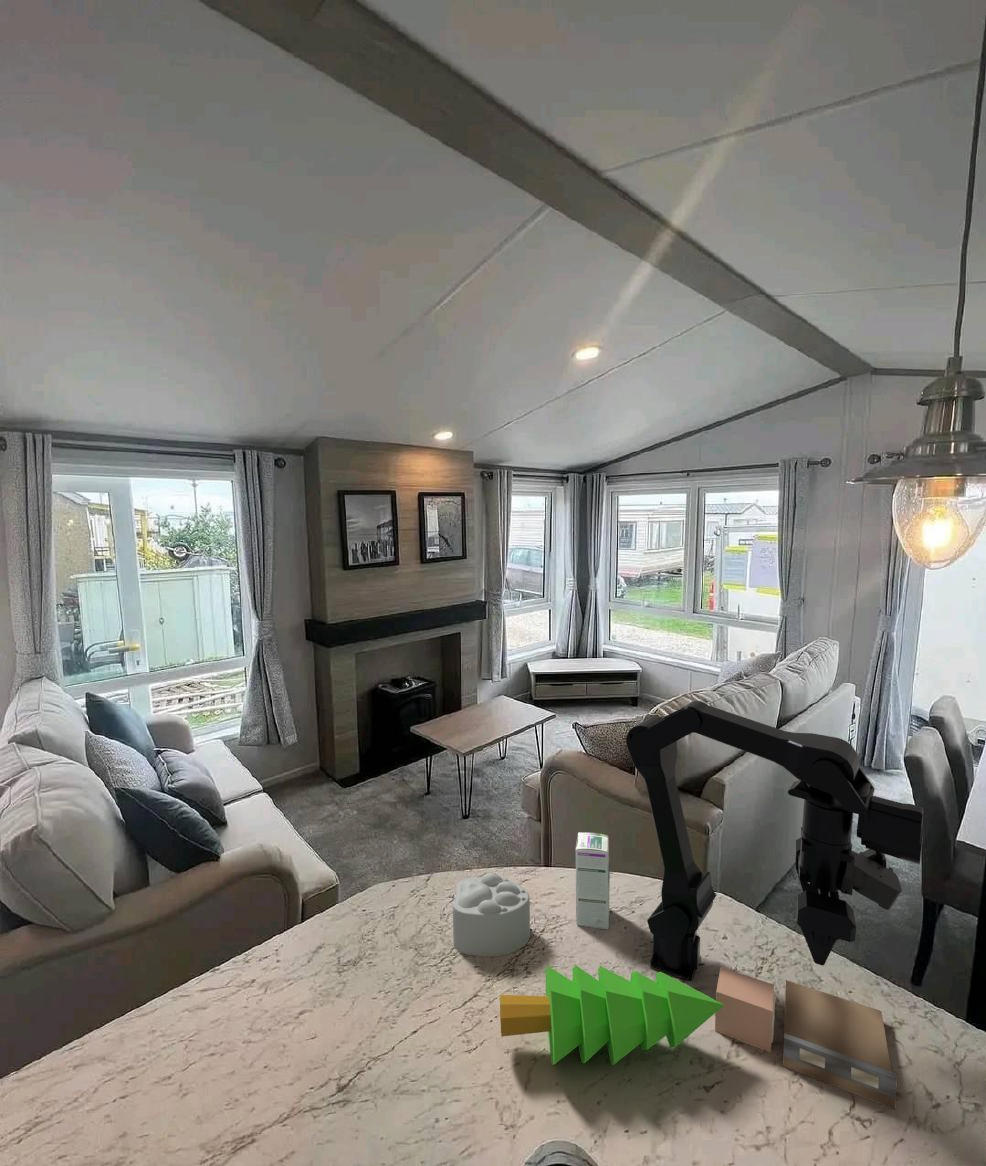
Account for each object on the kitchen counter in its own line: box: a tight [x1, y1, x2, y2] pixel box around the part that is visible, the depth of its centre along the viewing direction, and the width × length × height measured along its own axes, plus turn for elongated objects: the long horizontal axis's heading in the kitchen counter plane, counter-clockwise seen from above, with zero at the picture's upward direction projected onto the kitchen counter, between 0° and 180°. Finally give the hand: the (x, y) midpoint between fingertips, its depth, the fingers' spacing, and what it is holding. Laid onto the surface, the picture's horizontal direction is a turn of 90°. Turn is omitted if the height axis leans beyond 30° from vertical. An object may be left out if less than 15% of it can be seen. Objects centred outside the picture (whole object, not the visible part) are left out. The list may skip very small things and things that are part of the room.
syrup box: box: [575, 831, 611, 930], centre depth 102 cm, size 6×6×14 cm
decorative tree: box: [499, 964, 724, 1065], centre depth 76 cm, size 11×12×30 cm
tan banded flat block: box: [782, 979, 898, 1110], centre depth 77 cm, size 12×14×4 cm
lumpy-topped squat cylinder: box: [452, 872, 531, 957], centre depth 99 cm, size 10×13×9 cm
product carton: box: [714, 966, 776, 1053], centre depth 80 cm, size 7×5×6 cm
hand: (817, 940), depth 79 cm, fingers open, 9 cm apart
